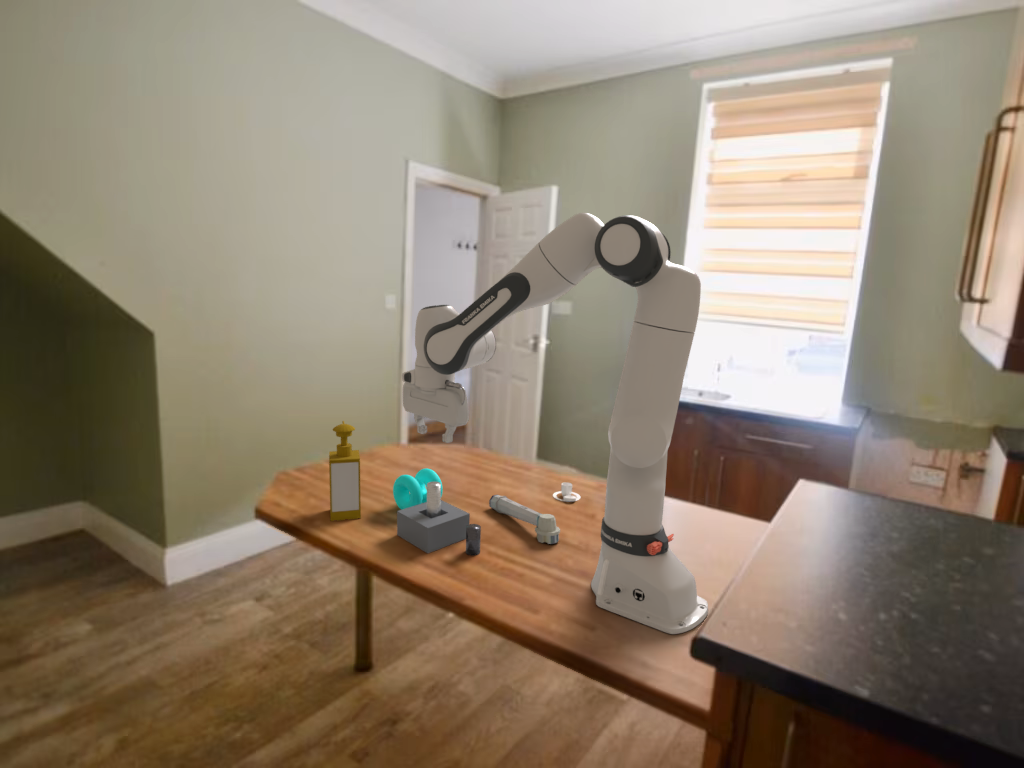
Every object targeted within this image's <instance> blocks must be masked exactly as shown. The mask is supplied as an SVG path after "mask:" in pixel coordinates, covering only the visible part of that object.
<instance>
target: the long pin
mask: <svg viewBox="0 0 1024 768" xmlns="http://www.w3.org/2000/svg"><path fill="white" fill-rule="evenodd" d="M426 490H427V517H429V518H431V519H432V518H435V517H438V516H440V512H441V500H442V497H441V483H440V482H429V483H427V487H426Z"/></svg>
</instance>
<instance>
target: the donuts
mask: <svg viewBox="0 0 1024 768" xmlns="http://www.w3.org/2000/svg"><path fill="white" fill-rule="evenodd" d="M429 482H440V483H441V498H442V497H443V493H444V492H443V489H444V488H443V483H442V480H441V478H440V476H439V475H438V474H437V471H434V470H433V469H431V468H428V467H427V468H425V467H424V468H422V469H420V470H418V472H416V474H415V476H413V475H410V474H401V475H400V476H398V477H397V478H396V479H395V481H394V482H393V486H392V495H393V499H394V502H395V503H396V506H397V507H398V508H399V510H402V509H405V508H409V507H412V506H415V505H419V504H422V503H425V502H427V483H429Z"/></svg>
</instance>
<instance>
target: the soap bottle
mask: <svg viewBox="0 0 1024 768" xmlns="http://www.w3.org/2000/svg"><path fill="white" fill-rule="evenodd" d="M355 430H356V427H354V426H353V425H351V424H348V423H345V421H344V420H342V423H341V424H338V425H336V426H334V427H333V428H332V431H333V432H334V433H335V436H336V437H337V438H340V443H338V444H336V451H334V450H332V451H329V454H328V457H329V458H328V459H329V460H328V465H329V471H328V473H329V506H330V507H329V508H330V509H329V512H330V515H329V516H330V522H335V521H334V520H337V521H346V520H345V519H348V520H357V519H358V518H360V519H361V518H362V516H361V515H362V513H361V456H360V451H359V449H355V450H354V449H353V448H352V447H353V446H352V444H351V443H349V442H348V437H352V436H353V432H354V431H355ZM352 449H353V450H352Z"/></svg>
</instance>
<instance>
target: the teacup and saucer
mask: <svg viewBox="0 0 1024 768" xmlns="http://www.w3.org/2000/svg"><path fill="white" fill-rule="evenodd" d="M560 484H561V485H560V486H561V490H559V491H555V492H554V493H553V494H552V497H553V498H554V499H555V500H558V501H560V502H567V503H569V502H570V503H572V502H576V501H579V500H581V495H580V494H579V493H577V492H574V491H573V484H572V482H562V483H560ZM558 494H559V495H560V494H561V496H562V499H561V498H559V497H558V496H557V495H558Z"/></svg>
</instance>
